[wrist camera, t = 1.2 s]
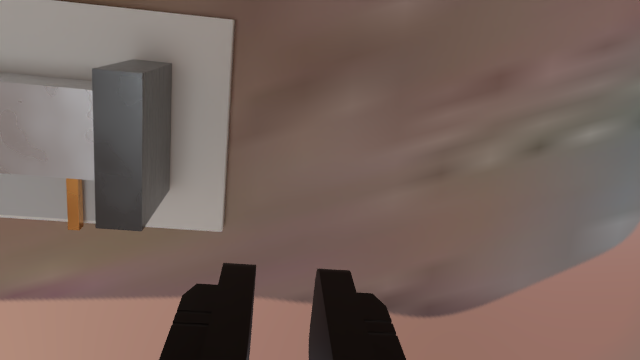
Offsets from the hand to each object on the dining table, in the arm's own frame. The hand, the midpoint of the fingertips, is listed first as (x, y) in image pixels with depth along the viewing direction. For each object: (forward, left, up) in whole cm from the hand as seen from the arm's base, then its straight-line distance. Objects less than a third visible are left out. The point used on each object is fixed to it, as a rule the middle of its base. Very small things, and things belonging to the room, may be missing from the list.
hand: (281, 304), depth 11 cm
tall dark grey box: (+1, -12, -18) cm, 22 cm away
